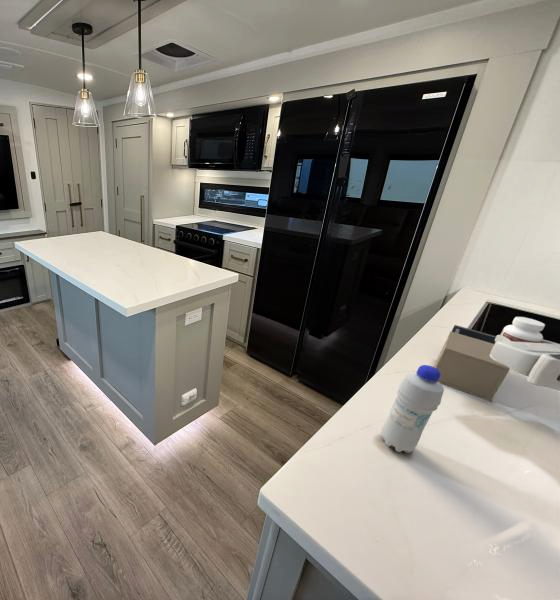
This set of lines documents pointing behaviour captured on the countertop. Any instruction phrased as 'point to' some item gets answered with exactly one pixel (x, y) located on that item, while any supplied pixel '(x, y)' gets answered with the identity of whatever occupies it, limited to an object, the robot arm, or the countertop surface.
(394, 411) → the bottle
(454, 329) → the detergent drawer
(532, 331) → the pill bottle
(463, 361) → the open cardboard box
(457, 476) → the countertop surface
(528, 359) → the robot arm
